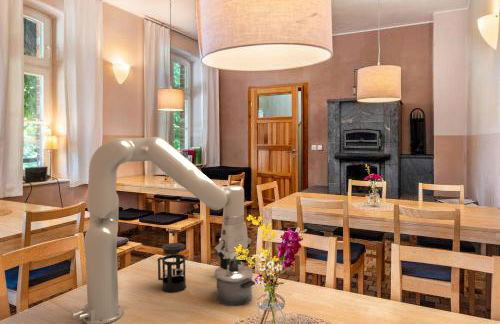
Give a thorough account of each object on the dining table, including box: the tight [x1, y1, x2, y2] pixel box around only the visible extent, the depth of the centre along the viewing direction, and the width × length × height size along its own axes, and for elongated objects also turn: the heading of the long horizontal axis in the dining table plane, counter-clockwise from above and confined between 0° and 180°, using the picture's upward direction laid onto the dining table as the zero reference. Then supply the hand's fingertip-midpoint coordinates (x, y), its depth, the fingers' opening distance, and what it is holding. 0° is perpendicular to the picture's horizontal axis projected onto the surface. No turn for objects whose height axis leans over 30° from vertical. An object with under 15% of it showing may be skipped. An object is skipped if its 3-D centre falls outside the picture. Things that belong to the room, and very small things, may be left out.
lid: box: [214, 259, 254, 282], centre depth 132 cm, size 14×14×5 cm
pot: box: [213, 272, 256, 307], centre depth 132 cm, size 14×17×9 cm
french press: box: [157, 229, 187, 294], centre depth 141 cm, size 12×9×23 cm
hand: (233, 265), depth 132 cm, fingers open, 9 cm apart
